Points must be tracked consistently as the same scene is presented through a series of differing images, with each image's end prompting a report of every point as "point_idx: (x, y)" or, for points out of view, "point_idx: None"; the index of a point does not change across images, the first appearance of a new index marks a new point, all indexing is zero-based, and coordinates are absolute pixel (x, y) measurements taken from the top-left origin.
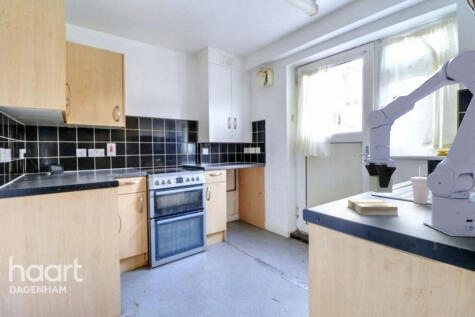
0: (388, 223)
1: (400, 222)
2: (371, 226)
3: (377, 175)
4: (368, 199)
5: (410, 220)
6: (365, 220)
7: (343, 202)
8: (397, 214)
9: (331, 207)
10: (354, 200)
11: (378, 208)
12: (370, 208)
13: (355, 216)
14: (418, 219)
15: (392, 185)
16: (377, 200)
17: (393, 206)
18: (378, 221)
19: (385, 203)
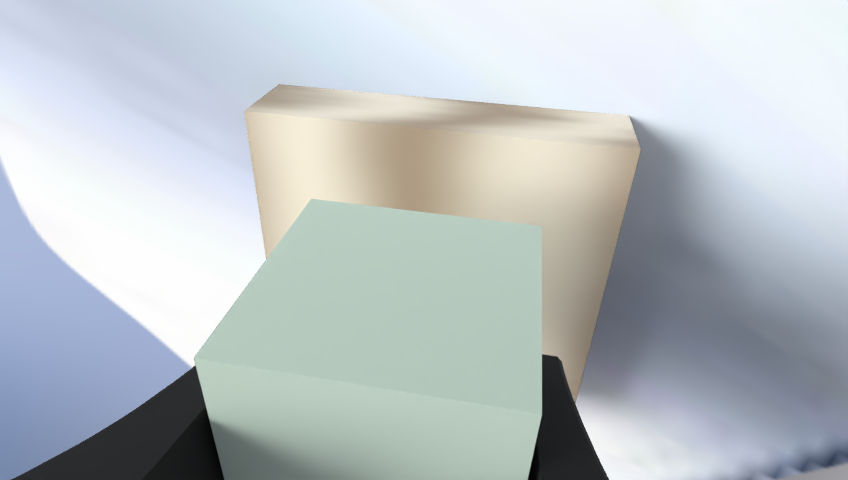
0: (827, 340)
1: (845, 245)
2: (836, 460)
3: (202, 457)
4: (268, 227)
5: (833, 121)
6: (706, 425)
7: (185, 313)
8: (630, 120)
9: None
10: None
11: (595, 311)
12: (582, 366)
13: (601, 429)
14: (839, 9)
15: (539, 296)
16: (309, 165)
17: (603, 174)
18: (757, 370)
19: (456, 169)
